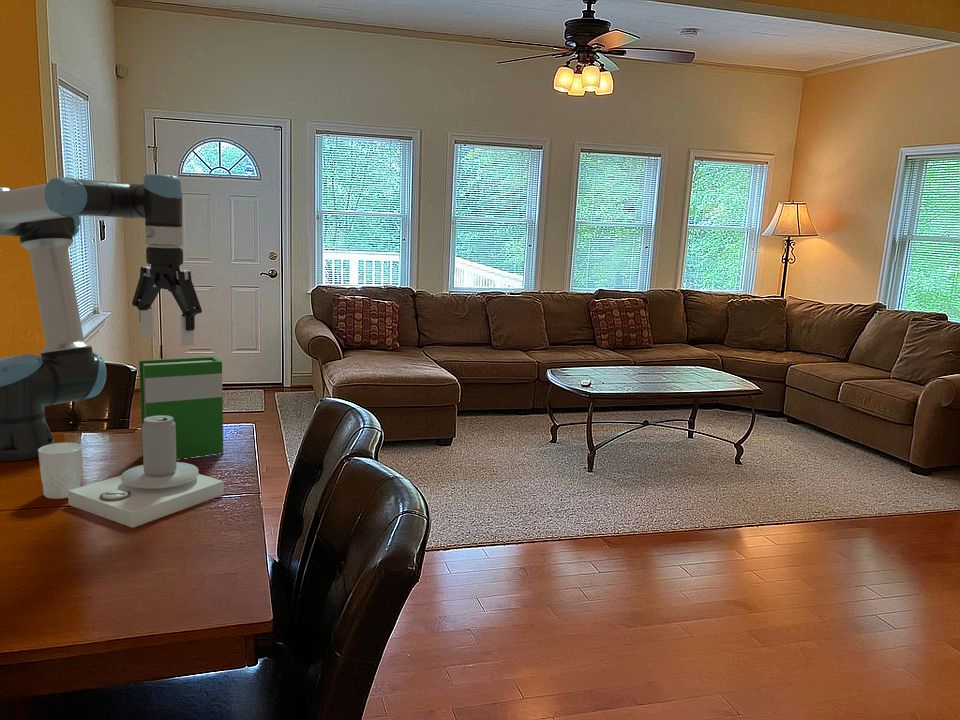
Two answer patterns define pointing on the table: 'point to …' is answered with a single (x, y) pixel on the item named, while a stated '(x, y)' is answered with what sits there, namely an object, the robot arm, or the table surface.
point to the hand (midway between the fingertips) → (167, 341)
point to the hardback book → (186, 401)
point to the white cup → (60, 468)
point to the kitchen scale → (145, 494)
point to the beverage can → (159, 445)
